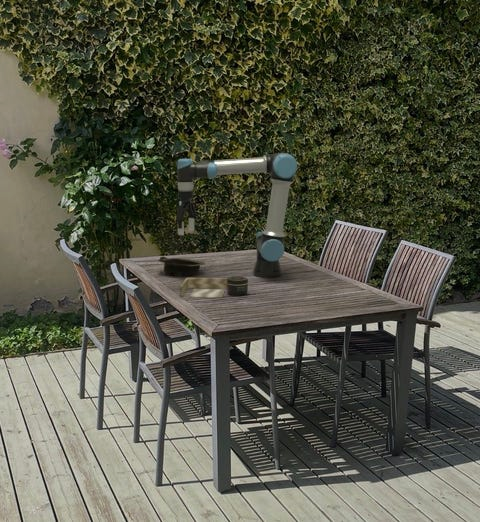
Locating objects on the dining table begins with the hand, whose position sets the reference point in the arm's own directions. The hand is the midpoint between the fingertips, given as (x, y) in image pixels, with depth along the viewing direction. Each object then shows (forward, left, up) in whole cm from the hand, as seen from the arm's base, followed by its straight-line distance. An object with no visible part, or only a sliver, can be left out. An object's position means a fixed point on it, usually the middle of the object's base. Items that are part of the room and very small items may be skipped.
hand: (186, 232), depth 371 cm
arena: (-13, +22, -25) cm, 36 cm away
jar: (-28, +23, -25) cm, 44 cm away
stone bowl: (+5, -19, -26) cm, 32 cm away
